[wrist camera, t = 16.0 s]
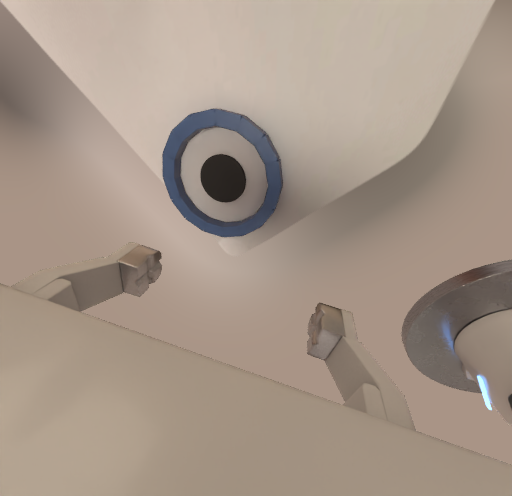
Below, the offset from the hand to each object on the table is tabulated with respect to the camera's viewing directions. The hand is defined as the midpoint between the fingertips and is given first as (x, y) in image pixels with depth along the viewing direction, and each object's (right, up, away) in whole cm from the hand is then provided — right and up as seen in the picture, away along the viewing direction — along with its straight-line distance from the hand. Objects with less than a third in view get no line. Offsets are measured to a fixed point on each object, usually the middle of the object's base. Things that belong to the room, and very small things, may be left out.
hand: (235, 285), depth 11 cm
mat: (-3, +11, +18) cm, 21 cm away
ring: (-3, +11, +18) cm, 21 cm away
